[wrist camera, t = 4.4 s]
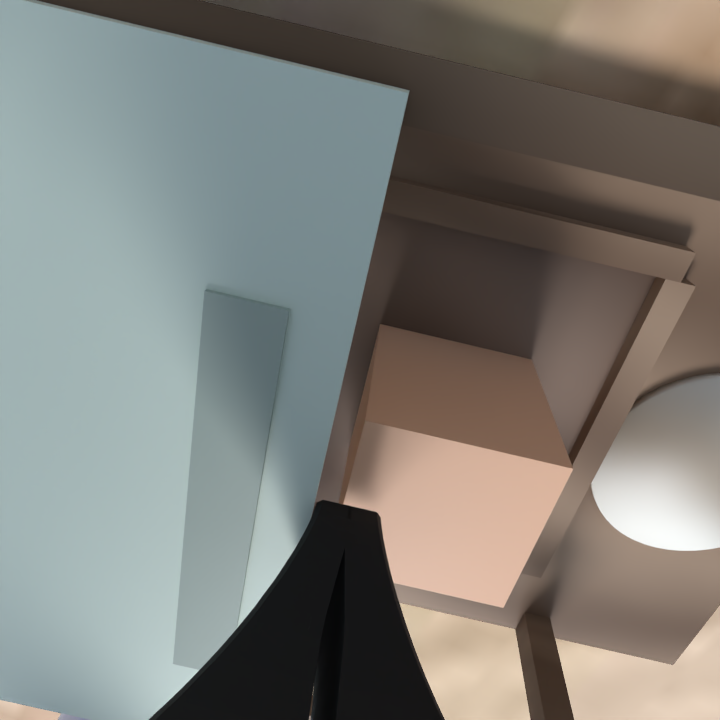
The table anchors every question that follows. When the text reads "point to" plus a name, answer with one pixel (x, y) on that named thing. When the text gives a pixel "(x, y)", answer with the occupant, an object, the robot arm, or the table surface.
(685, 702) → the table surface
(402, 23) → the table surface
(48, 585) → the slide cover
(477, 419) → the block
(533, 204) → the puzzle board
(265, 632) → the robot arm
